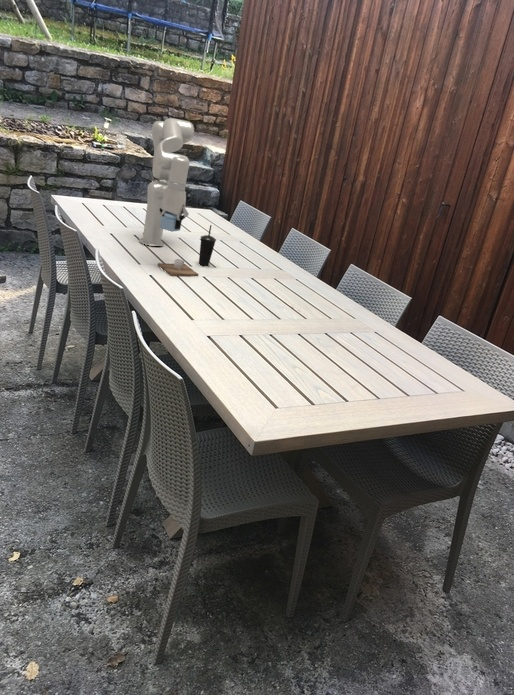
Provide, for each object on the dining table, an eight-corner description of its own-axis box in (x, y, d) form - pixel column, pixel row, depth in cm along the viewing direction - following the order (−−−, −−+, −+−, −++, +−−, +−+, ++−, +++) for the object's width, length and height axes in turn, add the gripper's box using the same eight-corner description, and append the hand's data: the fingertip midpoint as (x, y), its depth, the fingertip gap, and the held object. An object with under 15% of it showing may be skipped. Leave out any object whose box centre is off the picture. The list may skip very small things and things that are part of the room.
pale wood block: (173, 268, 267) (174, 260, 266) (176, 266, 270) (177, 258, 269) (180, 270, 267) (181, 262, 265) (182, 268, 270) (184, 260, 268)
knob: (159, 227, 259) (161, 211, 257) (168, 226, 265) (170, 210, 262) (171, 231, 257) (174, 215, 254) (180, 230, 263) (182, 214, 260)
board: (157, 265, 270) (158, 263, 270) (184, 266, 278) (185, 264, 278) (170, 276, 260) (170, 273, 259) (198, 276, 268) (198, 274, 267)
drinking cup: (212, 264, 291) (219, 225, 283) (209, 268, 284) (217, 228, 276) (197, 261, 291) (204, 222, 283) (194, 265, 284) (201, 224, 276)
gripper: (155, 181, 254) (149, 221, 261) (188, 191, 248) (181, 232, 255) (165, 181, 260) (159, 220, 267) (197, 191, 254) (191, 231, 261)
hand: (170, 226), depth 261 cm, fingers closed on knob, 6 cm apart
